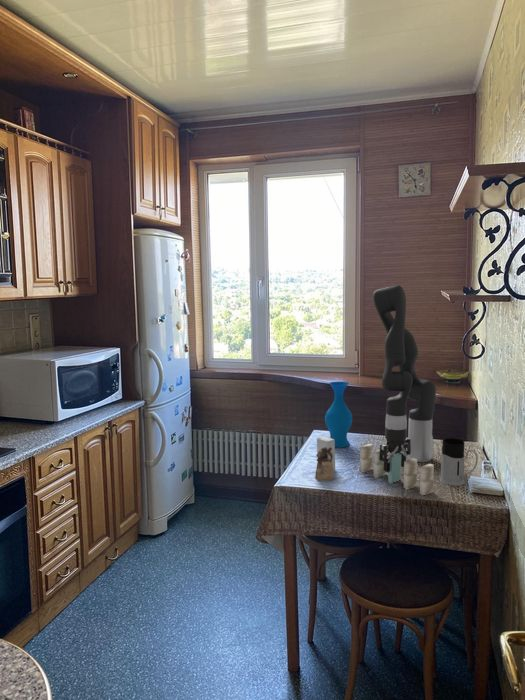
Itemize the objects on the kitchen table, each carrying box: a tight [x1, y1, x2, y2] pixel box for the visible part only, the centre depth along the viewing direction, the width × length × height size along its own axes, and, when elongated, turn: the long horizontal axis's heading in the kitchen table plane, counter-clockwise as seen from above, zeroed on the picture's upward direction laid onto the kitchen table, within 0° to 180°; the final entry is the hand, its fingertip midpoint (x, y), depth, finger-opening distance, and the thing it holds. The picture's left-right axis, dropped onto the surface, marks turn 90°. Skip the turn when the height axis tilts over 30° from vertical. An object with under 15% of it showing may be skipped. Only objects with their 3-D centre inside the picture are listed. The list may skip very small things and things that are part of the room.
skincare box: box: [316, 436, 336, 470], centre depth 206 cm, size 6×4×12 cm
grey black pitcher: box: [439, 437, 479, 487], centre depth 190 cm, size 9×14×15 cm, turn 35°
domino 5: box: [419, 463, 435, 496], centre depth 181 cm, size 5×2×10 cm, turn 126°
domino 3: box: [387, 453, 402, 484], centre depth 192 cm, size 5×2×10 cm, turn 125°
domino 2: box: [373, 448, 387, 479], centre depth 198 cm, size 5×2×10 cm, turn 126°
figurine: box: [314, 446, 335, 482], centre depth 196 cm, size 7×7×12 cm
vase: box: [324, 381, 353, 448], centre depth 235 cm, size 12×13×28 cm
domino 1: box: [359, 443, 374, 473], centre depth 203 cm, size 5×2×10 cm, turn 126°
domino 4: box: [403, 458, 418, 490], centre depth 187 cm, size 5×2×10 cm, turn 126°
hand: (394, 469), depth 192 cm, fingers open, 8 cm apart
